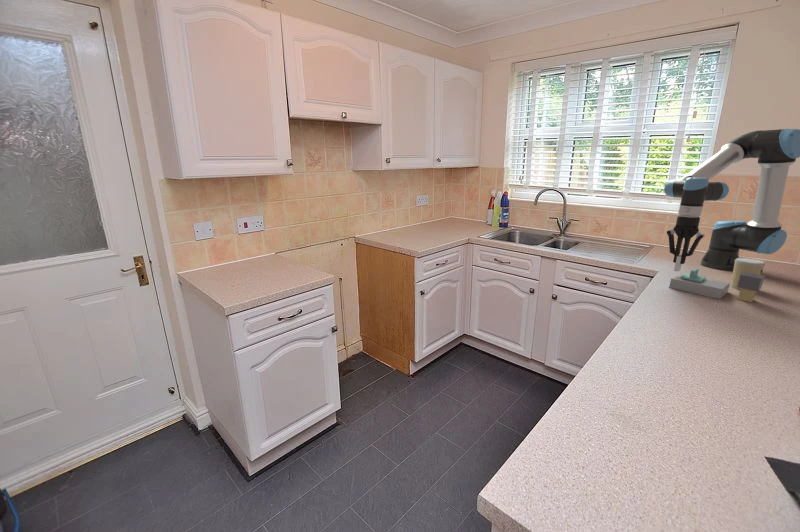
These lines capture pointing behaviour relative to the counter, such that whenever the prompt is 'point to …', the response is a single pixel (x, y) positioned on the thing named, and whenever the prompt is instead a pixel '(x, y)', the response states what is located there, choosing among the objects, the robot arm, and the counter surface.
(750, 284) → the plug
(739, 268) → the coffee cup
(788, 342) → the counter surface
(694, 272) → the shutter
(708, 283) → the socket plate
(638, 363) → the counter surface
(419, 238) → the counter surface
